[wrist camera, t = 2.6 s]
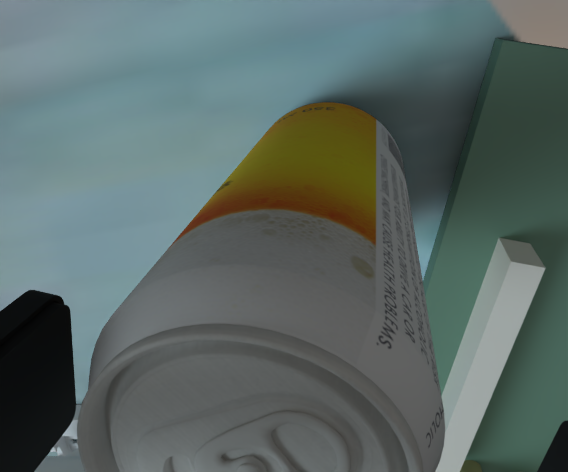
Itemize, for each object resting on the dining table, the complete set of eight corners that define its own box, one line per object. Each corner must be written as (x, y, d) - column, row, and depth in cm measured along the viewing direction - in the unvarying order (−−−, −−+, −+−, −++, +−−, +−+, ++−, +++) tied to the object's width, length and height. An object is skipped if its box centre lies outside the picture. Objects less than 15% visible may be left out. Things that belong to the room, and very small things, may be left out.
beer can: (230, 149, 21) (-25, 406, 8) (354, 67, 19) (298, 226, 5) (307, 260, 23) (208, 630, 9) (430, 196, 20) (530, 562, 7)
